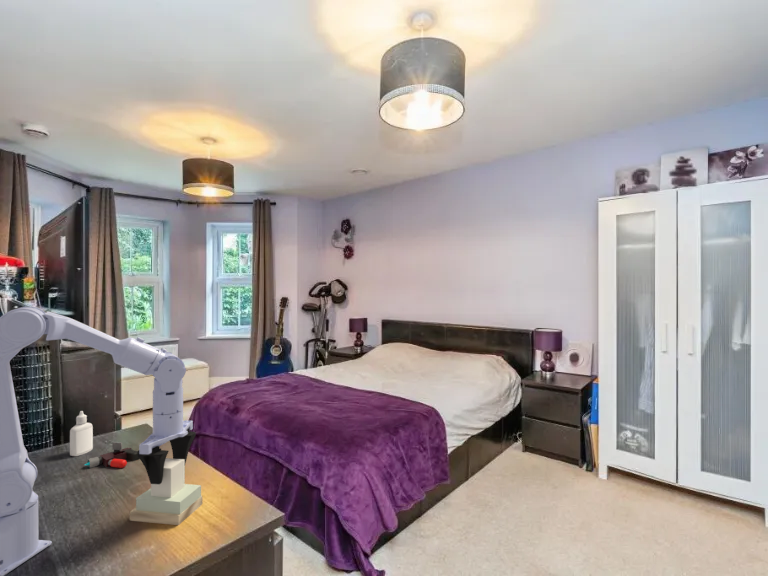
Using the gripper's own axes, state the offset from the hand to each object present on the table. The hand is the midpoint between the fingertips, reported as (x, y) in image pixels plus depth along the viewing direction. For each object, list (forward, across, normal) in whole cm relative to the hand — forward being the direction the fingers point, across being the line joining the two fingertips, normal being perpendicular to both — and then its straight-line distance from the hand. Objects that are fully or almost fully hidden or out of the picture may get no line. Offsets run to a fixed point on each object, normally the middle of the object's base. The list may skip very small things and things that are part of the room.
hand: (168, 474), depth 86 cm
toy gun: (+8, +19, +30) cm, 36 cm away
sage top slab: (+6, 0, 0) cm, 6 cm away
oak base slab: (+8, 0, 0) cm, 9 cm away
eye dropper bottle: (+8, +25, +45) cm, 52 cm away
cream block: (+3, 0, 0) cm, 4 cm away
